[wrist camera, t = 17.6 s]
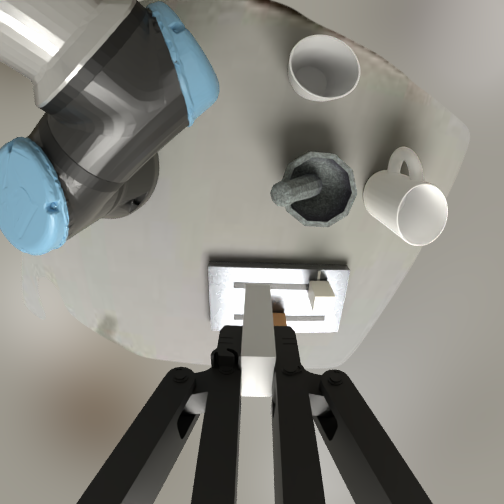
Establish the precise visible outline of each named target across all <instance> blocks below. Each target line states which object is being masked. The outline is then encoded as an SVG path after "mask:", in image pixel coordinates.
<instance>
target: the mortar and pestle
mask: <svg viewBox="0 0 504 504" xmlns="http://www.w3.org/2000/svg"><path fill="white" fill-rule="evenodd" d="M356 195H357V189H356V184H355V179H354V174H353V170H352V169H351V168H350V167H349V166H348V165H346V164H345V163H344V162H343V161H342V160H341V159H340V158H339V157H338V156H337V155H336V154H333V153H323V152H313V151H308V152H307V153H305V154H303V155H302V156H300V157H298V158H297V159H295V160H294V161H292V162H290V163H289V164H288V166H287V169H286V171H285V174H284V176H283V179H282V181H280V182H278V183H276V184H275V185H273V187H272V190H271V198H272V201H273V202H274V203H275V204H276V205H277V206H282V207H285V208H286V211H287V212H288V213H290V214H291V215H292V216H293V217H294V218H296V219H297V220H298V221H299V222H301V223H302V224H303V225H304V226H316V227H329V226H331V225H332V224H334V223H336V222H337V221H339V220H340V219H342V218H344V217H345V216H347V215H348V213H349V211H350V209H351V207H352V204H353V202H354V200H355V198H356Z"/></svg>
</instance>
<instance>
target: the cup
mask: <svg viewBox="0 0 504 504" xmlns="http://www.w3.org/2000/svg"><path fill="white" fill-rule="evenodd" d="M288 77H289V80H290V83H291V86H292V88H293V89H294V91H295V92H296V93H297V94H299V95H300V96H301V97H303V98H305V99H308V100H313V101H329V100H333V99H338V98H341V97H344V96H346V95H348V94H349V93H350V92H352V91H353V90H354V88H355V87H356V85H357V84H358V81H359V78H360V65H359V61H358V59H357V57H356V55H355V53H354V52H353V50H352V49H351V48H350V47H349V46H348V45H347V44H346V43H344V42H343V41H341V40H339V39H337V38H335V37H332V36H329V35H311V36H308V37H306V38H304V39H302V40H300V41H299V42H298V43H297V44H296V45H295V46H294V48H293V49H292V51H291V54H290V58H289V64H288Z"/></svg>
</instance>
